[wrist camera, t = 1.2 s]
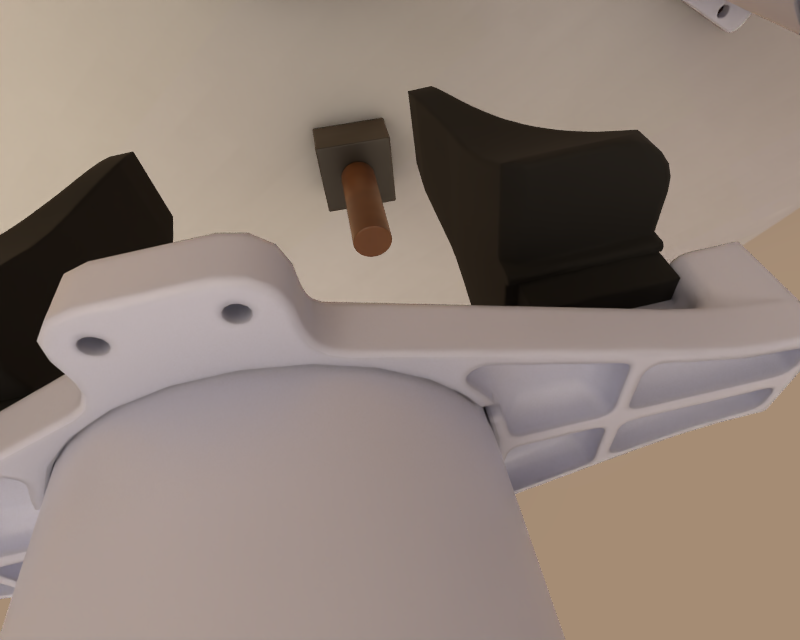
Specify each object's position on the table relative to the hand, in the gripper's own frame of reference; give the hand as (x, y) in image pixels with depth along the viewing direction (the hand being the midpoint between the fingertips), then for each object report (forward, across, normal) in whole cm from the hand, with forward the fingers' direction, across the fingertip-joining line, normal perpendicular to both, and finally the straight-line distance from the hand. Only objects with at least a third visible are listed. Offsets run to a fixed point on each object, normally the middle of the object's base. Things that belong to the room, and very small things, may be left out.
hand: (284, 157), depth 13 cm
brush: (+10, -2, +6) cm, 12 cm away
